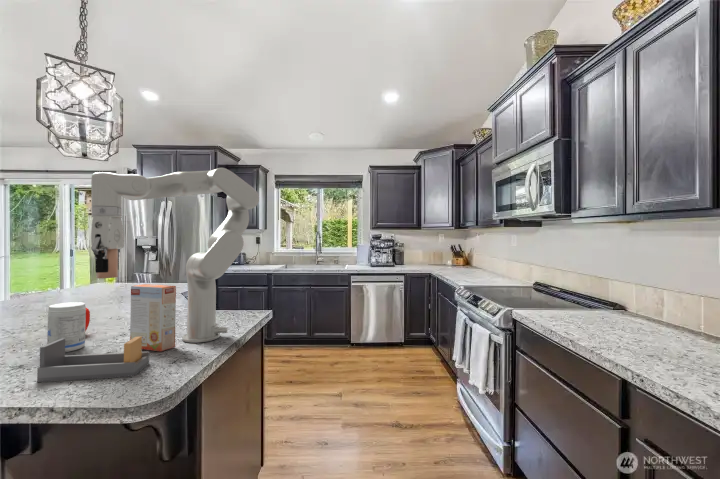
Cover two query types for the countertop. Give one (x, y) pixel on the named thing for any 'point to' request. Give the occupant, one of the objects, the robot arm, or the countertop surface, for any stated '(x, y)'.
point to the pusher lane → (84, 364)
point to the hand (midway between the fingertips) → (107, 270)
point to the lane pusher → (133, 350)
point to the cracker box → (153, 316)
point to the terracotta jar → (110, 264)
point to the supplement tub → (67, 324)
